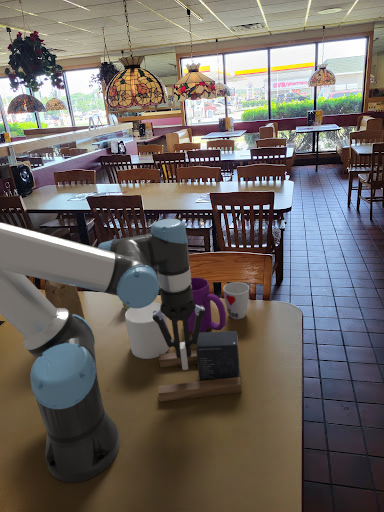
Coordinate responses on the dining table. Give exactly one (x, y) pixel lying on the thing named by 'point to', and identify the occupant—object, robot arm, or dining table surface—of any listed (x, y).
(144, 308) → the cup
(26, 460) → the dining table surface
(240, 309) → the cup
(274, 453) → the dining table surface
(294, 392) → the dining table surface
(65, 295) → the block
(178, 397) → the parallel wooden rails
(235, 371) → the box
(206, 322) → the mug
